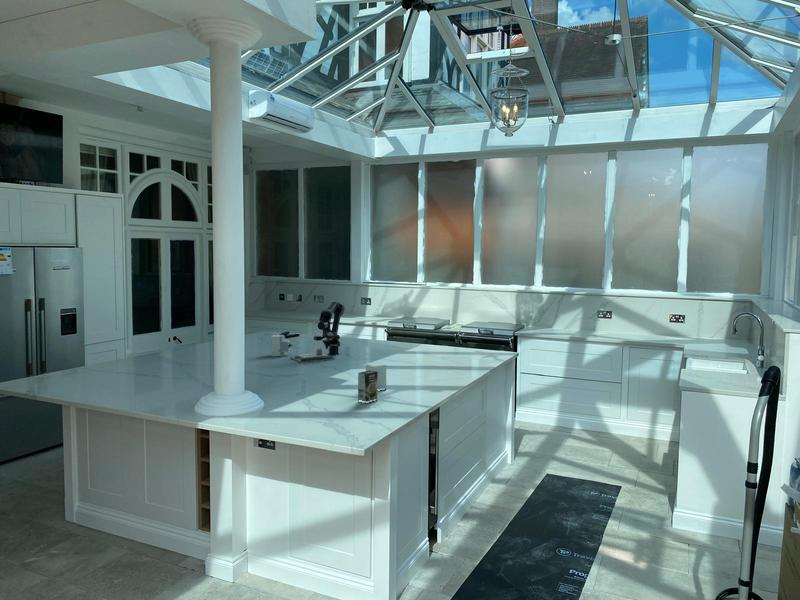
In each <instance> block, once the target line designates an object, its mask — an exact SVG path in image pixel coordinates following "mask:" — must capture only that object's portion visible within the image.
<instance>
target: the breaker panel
mask: <svg viewBox="0 0 800 600" xmlns="http://www.w3.org/2000/svg"><path fill="white" fill-rule="evenodd" d="M297 356H299V357H297V358H295V357H294V356H291V357H290V359H291V360H293V361H295V362H298V363H300V364H305V363H306V362H308V363H315V362H314V361H317V362H323V361H322V360H327V361H332V360H331V359H335V360H336V358H335V357H332V356H331V358H324V359H314V360H304V361H301V359H304V358H314V357H324V356H329V355H328V354H326V353H324V352H322V355H317V352H316V353H307V354H297Z"/></svg>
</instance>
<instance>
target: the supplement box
mask: <svg viewBox="0 0 800 600" xmlns="http://www.w3.org/2000/svg"><path fill="white" fill-rule="evenodd" d="M369 370H370V371H376V372H378V379H377V389H380V388H386V389H387V364H383V363H380V362H374V363H373V362H372V363H366V364H365V371H369Z"/></svg>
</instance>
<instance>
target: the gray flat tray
mask: <svg viewBox="0 0 800 600" xmlns="http://www.w3.org/2000/svg"><path fill="white" fill-rule="evenodd" d="M293 357H295V358H297V357H299V356H298V355H294V356H293ZM331 357H332V355H328V356H324V357H314V358H304V359H301V361H304V360H314V359H324V358H331Z"/></svg>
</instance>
